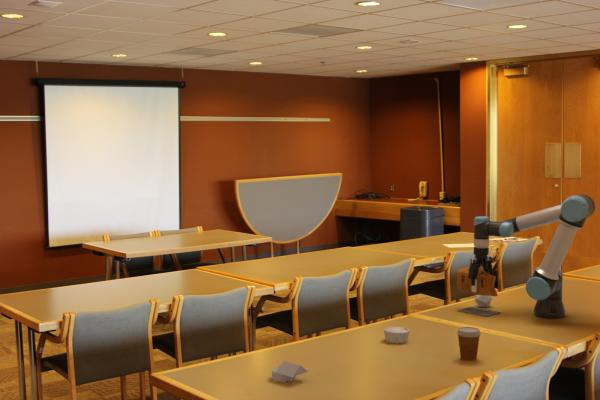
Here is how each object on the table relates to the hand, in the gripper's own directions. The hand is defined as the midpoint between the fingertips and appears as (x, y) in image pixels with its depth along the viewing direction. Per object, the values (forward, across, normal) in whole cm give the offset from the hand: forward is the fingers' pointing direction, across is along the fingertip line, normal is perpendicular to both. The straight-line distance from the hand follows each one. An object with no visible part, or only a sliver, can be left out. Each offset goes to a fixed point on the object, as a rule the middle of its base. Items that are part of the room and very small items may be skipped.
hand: (480, 290), depth 394 cm
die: (+12, -12, -8) cm, 18 cm away
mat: (+11, 0, -1) cm, 11 cm away
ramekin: (+12, +71, +12) cm, 73 cm away
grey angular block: (+12, +140, +25) cm, 143 cm away
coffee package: (-4, 0, -12) cm, 13 cm away
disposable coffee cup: (+11, +68, +50) cm, 85 cm away
